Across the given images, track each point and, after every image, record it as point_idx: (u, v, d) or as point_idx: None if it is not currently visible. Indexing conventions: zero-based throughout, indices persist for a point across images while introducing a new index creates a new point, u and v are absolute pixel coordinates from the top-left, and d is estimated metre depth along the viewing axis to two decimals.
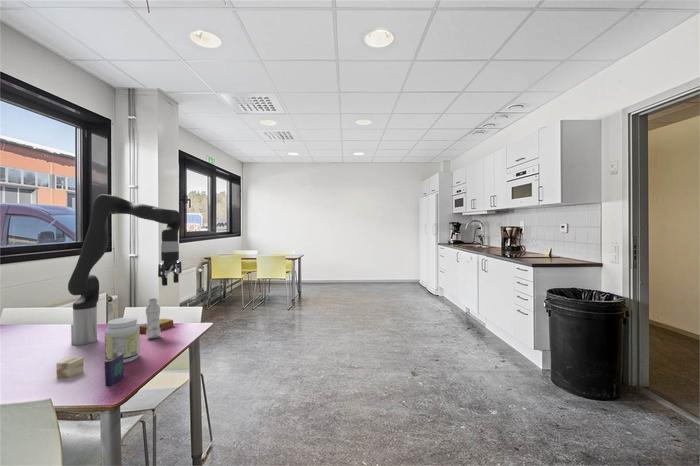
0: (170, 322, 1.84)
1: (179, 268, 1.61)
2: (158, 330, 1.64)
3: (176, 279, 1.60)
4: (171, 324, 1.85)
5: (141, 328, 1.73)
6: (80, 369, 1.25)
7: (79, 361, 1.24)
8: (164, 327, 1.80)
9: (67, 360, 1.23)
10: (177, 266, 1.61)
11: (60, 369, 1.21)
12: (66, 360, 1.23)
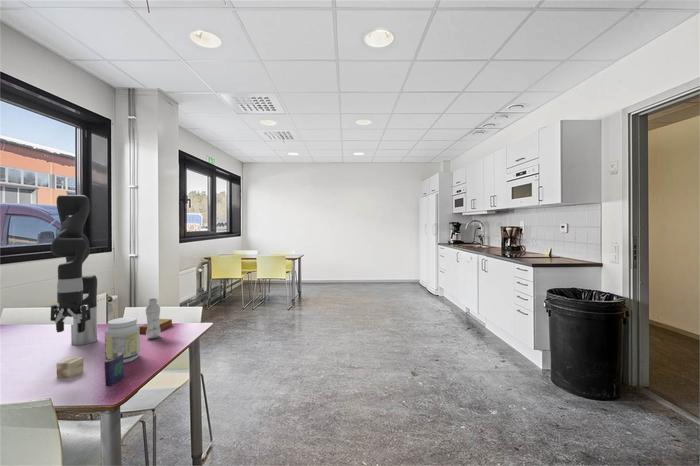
0: (170, 321, 1.86)
1: (59, 313, 1.25)
2: (158, 330, 1.64)
3: (62, 327, 1.24)
4: (170, 323, 1.86)
5: (144, 328, 1.72)
6: (80, 369, 1.25)
7: (79, 361, 1.24)
8: (165, 326, 1.81)
9: (67, 360, 1.23)
10: (56, 311, 1.24)
11: (60, 369, 1.21)
12: (66, 360, 1.23)
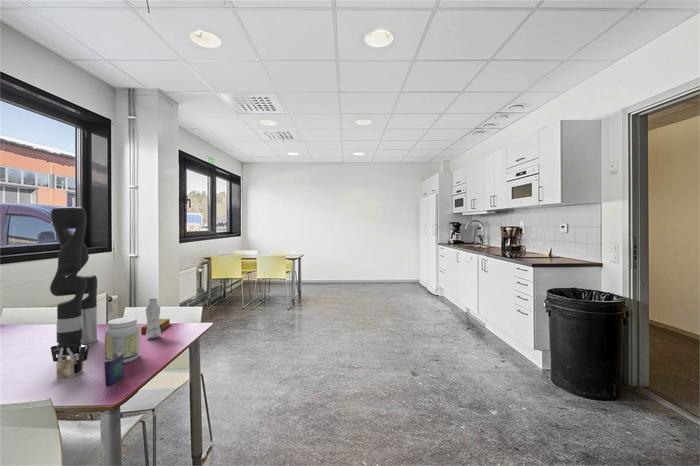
0: (168, 321, 1.87)
1: (60, 353, 1.25)
2: (158, 330, 1.64)
3: None
4: (168, 323, 1.87)
5: None
6: None
7: None
8: (165, 326, 1.83)
9: (67, 360, 1.23)
10: (57, 351, 1.24)
11: (60, 368, 1.21)
12: (66, 360, 1.23)
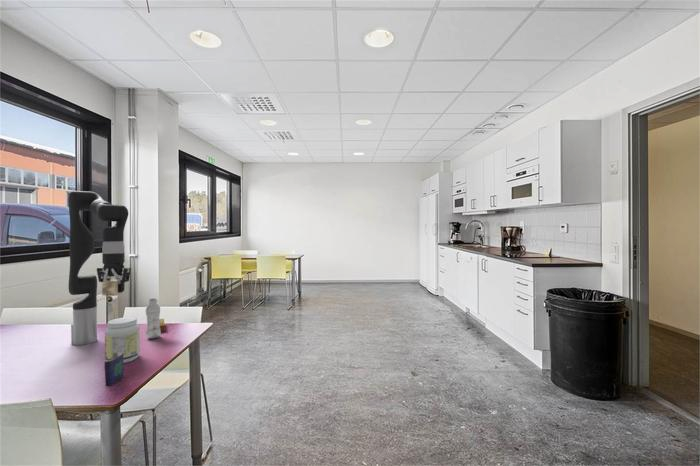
0: None
1: None
2: (158, 330, 1.64)
3: None
4: None
5: None
6: None
7: None
8: None
9: (111, 281, 1.35)
10: (102, 273, 1.36)
11: (105, 287, 1.32)
12: (110, 281, 1.35)
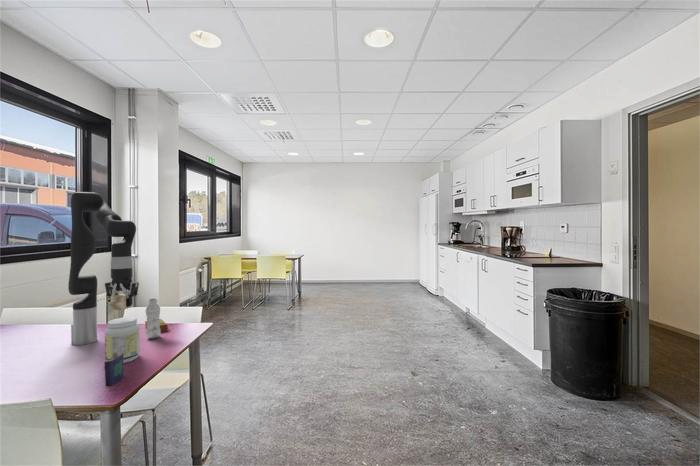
0: None
1: (112, 289, 1.39)
2: (158, 330, 1.64)
3: None
4: None
5: None
6: None
7: None
8: None
9: (119, 295, 1.37)
10: (110, 287, 1.38)
11: (114, 301, 1.35)
12: (118, 295, 1.37)
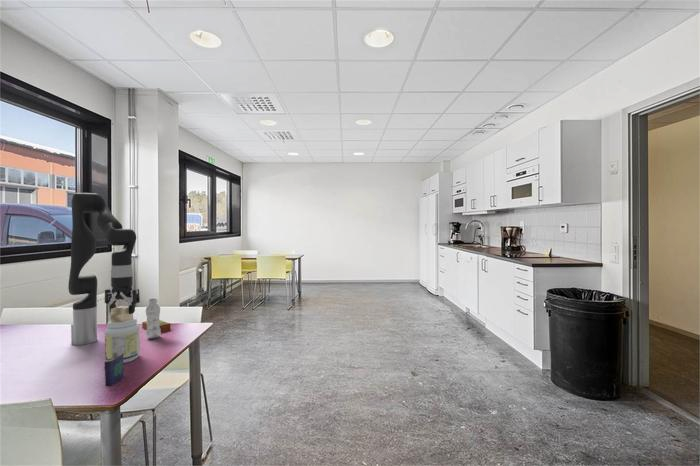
0: None
1: (111, 296, 1.39)
2: (158, 330, 1.64)
3: None
4: None
5: (161, 327, 1.75)
6: (131, 316, 1.39)
7: None
8: None
9: (119, 307, 1.37)
10: (109, 294, 1.38)
11: (114, 314, 1.35)
12: (118, 307, 1.37)
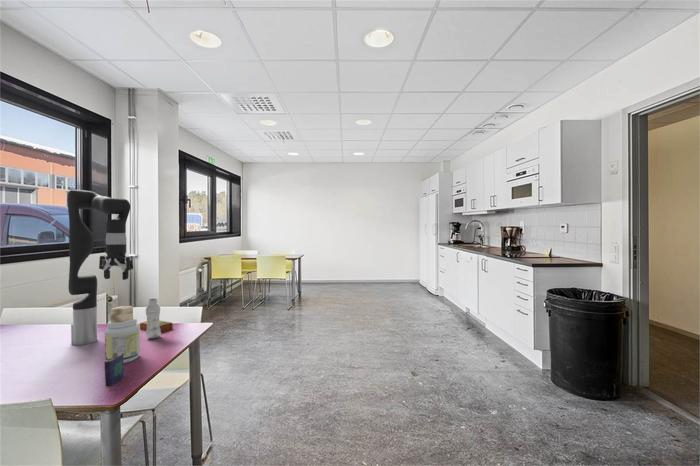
0: None
1: (105, 263, 1.45)
2: (158, 330, 1.64)
3: (108, 275, 1.45)
4: None
5: (164, 326, 1.76)
6: (131, 316, 1.39)
7: (130, 308, 1.38)
8: None
9: (119, 307, 1.37)
10: (104, 261, 1.44)
11: (114, 314, 1.35)
12: (118, 307, 1.37)
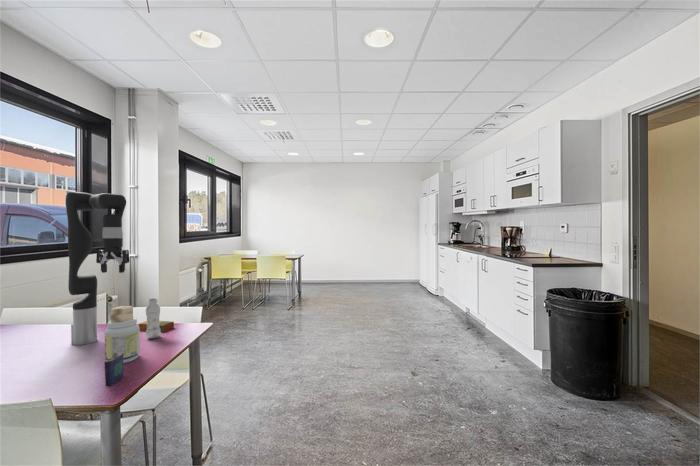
0: None
1: (102, 257, 1.49)
2: (158, 330, 1.64)
3: (105, 268, 1.48)
4: None
5: (167, 325, 1.78)
6: (131, 316, 1.39)
7: (130, 308, 1.38)
8: None
9: (119, 307, 1.37)
10: (101, 255, 1.48)
11: (114, 314, 1.35)
12: (118, 307, 1.37)
